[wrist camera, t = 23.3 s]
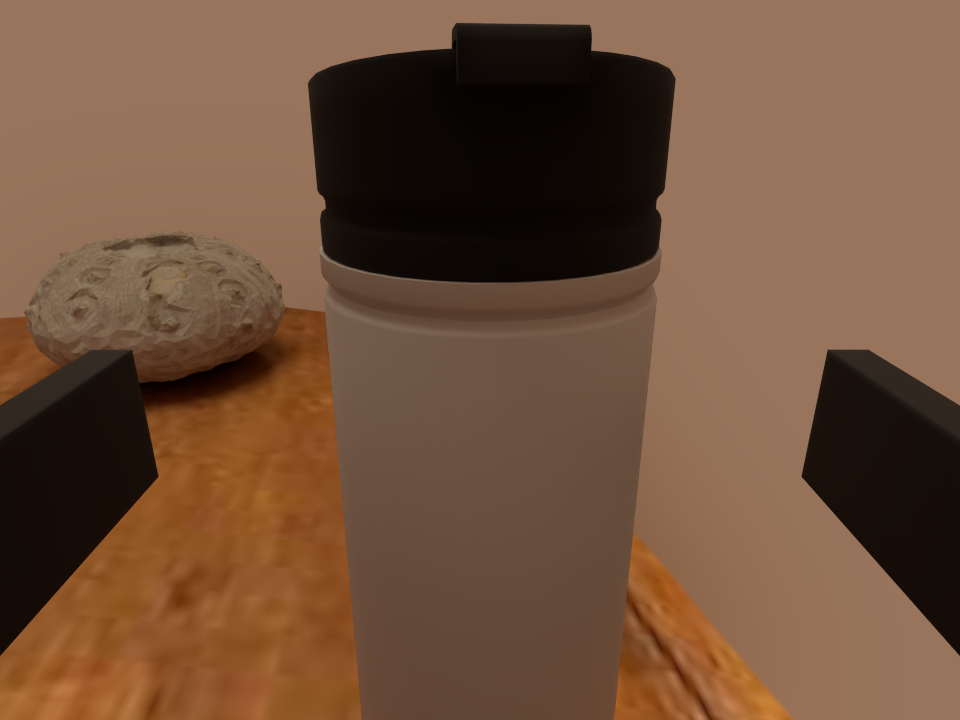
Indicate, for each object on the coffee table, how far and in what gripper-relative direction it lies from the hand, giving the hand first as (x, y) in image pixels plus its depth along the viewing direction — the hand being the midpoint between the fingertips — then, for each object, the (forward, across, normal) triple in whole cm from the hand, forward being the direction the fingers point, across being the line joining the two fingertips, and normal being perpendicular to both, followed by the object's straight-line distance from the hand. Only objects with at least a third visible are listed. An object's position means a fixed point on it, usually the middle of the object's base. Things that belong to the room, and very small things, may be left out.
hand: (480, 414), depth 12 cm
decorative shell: (+37, -25, -14) cm, 47 cm away
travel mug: (+1, 0, -14) cm, 14 cm away
